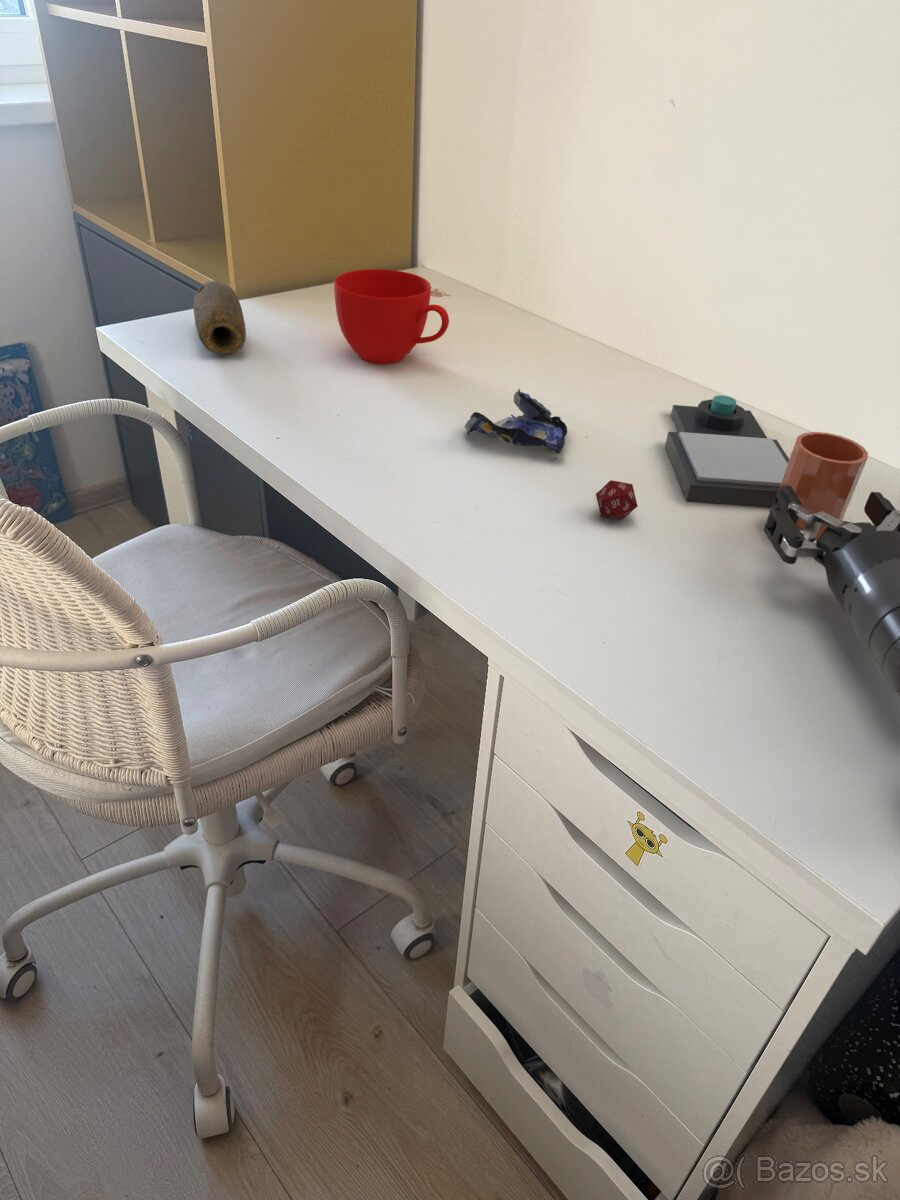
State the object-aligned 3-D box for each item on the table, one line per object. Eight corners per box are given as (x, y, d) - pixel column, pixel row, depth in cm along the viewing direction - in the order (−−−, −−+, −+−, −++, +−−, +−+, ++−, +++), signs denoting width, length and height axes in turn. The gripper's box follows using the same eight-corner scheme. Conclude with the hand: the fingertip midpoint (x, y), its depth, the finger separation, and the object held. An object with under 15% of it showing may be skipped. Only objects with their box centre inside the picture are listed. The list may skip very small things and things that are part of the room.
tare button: (730, 407, 103) (733, 396, 103) (735, 417, 101) (739, 405, 100) (707, 406, 103) (711, 394, 103) (712, 415, 101) (716, 403, 100)
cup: (819, 521, 87) (853, 434, 81) (840, 555, 82) (878, 465, 76) (758, 516, 87) (788, 429, 81) (776, 550, 82) (808, 460, 76)
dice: (628, 531, 83) (636, 496, 81) (586, 518, 85) (592, 484, 82) (638, 515, 86) (646, 481, 84) (598, 503, 87) (604, 469, 85)
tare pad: (747, 420, 107) (753, 398, 105) (764, 448, 101) (771, 425, 99) (670, 414, 107) (676, 392, 105) (682, 442, 101) (688, 419, 99)
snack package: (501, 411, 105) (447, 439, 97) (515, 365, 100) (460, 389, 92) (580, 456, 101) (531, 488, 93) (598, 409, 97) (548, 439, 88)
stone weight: (189, 324, 122) (183, 277, 118) (238, 321, 124) (234, 275, 120) (202, 362, 111) (196, 311, 107) (255, 358, 113) (251, 309, 109)
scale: (771, 454, 100) (778, 435, 98) (805, 509, 89) (813, 489, 88) (664, 446, 99) (669, 427, 98) (686, 501, 89) (691, 480, 88)
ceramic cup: (418, 389, 108) (421, 312, 102) (316, 356, 115) (313, 282, 109) (468, 361, 117) (474, 289, 111) (371, 332, 124) (371, 263, 118)
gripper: (1003, 566, 64) (915, 467, 77) (821, 553, 64) (764, 456, 77) (961, 640, 69) (885, 535, 82) (791, 628, 69) (741, 524, 81)
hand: (826, 496), depth 79 cm, fingers open, 8 cm apart
